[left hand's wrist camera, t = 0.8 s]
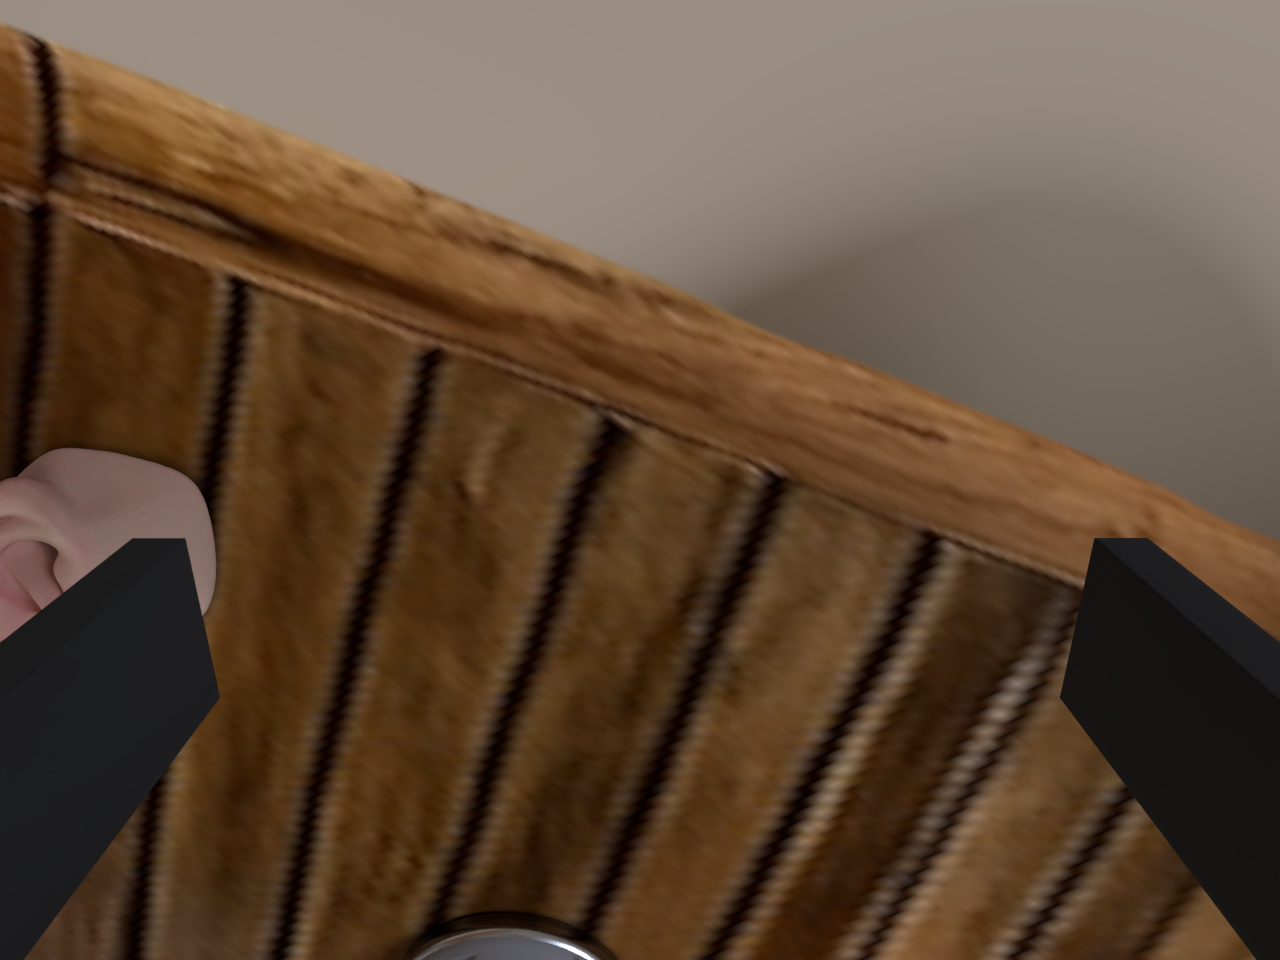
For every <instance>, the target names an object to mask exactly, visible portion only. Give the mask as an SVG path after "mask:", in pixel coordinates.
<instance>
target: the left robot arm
mask: <svg viewBox="0 0 1280 960" xmlns="http://www.w3.org/2000/svg"><path fill="white" fill-rule="evenodd" d="M219 698H220V695H219V691H218V686H217V681H216V677H215V672H214V667H213V663H212V658H211V654H210V649H209V644H208V640H207V635H206V630H205V626H204V621H203V617H202V612H201V607H200V603H199V598H198V594H197V589H196V584H195V580H194V575H193V570H192V566H191V561H190V557H189V552H188V547H187V543H186V538H132V539H131V540H130V541H128V542H127V543H126V544H124V545H123V546H122V547H121V548H119V549H118V550H117V551H116V552H114V553H113V554H112V555H111V556H109V557H108V558H107V559H105V560H104V561H103V562H102V563H100V564H99V565H98V566H97V567H95V568H94V569H93V570H91V571H90V572H89V573H88V574H86V575H85V576H84V577H83V578H81V579H80V580H79V581H78V582H76V583H75V584H74V585H72V586H71V587H70V588H69V589H67V590H66V591H65V592H64V593H62V594H61V595H60V596H59V597H57V598H56V599H55V600H53V601H52V602H51V603H50V604H48V605H47V606H46V607H45V608H43V609H42V610H41V611H40V612H38V613H37V614H36V615H34V616H33V617H32V618H31V619H29V620H28V621H27V622H26V623H24V624H23V625H22V626H21V627H19V628H18V629H17V630H15V631H14V632H13V633H12V634H10V635H9V636H8V637H7V638H5V639H4V640H3V641H1V642H0V960H24V958H25V957H26V956H27V954H28V953H29V952H30V950H31V949H32V948H33V946H34V945H35V944H36V942H37V941H38V940H39V938H40V937H41V936H42V934H43V933H44V932H45V930H46V929H47V928H48V926H49V925H50V924H51V922H52V921H53V920H54V918H55V917H56V916H57V914H58V913H59V912H60V910H61V909H62V908H63V906H64V905H65V904H66V902H67V901H68V900H69V898H70V897H71V896H72V894H73V893H74V892H75V890H76V889H77V888H78V886H79V885H80V884H81V882H82V881H83V880H84V878H85V877H86V876H87V874H88V873H89V872H90V870H91V869H92V868H93V866H94V865H95V864H96V862H97V861H98V860H99V858H100V857H101V856H102V854H103V853H104V852H105V850H106V849H107V848H108V846H109V845H110V844H111V842H112V841H113V840H114V838H115V837H116V836H117V834H118V833H119V832H120V830H121V829H122V828H123V826H124V825H125V824H126V822H127V821H128V820H129V818H130V817H131V816H132V814H133V813H134V812H135V810H136V809H137V808H138V806H139V805H140V804H141V802H142V801H143V800H144V798H145V797H146V796H147V794H148V793H149V792H150V790H151V789H152V788H153V786H154V785H155V784H156V782H157V781H158V780H159V778H160V777H161V776H162V774H163V773H164V772H165V770H166V769H167V768H168V766H169V765H170V764H171V762H172V761H173V760H174V758H175V757H176V756H177V754H178V753H179V752H180V750H181V749H182V748H183V746H184V745H185V744H186V742H187V741H188V740H189V738H190V737H191V736H192V734H193V733H194V732H195V730H196V729H197V728H198V726H199V725H200V724H201V722H202V721H203V720H204V718H205V717H206V716H207V714H208V713H209V712H210V710H211V709H212V708H213V706H214V705H215V704H216V702H217V701H218V700H219ZM1060 698H1061V700H1062V701H1063V702H1064V704H1065V705H1066V706H1067V708H1068V709H1069V710H1070V712H1071V713H1072V714H1073V716H1074V717H1075V718H1076V720H1077V721H1078V722H1079V724H1080V725H1081V726H1082V728H1083V729H1084V730H1085V732H1086V733H1087V734H1088V736H1089V737H1090V738H1091V740H1092V741H1093V742H1094V744H1095V745H1096V746H1097V748H1098V749H1099V750H1100V752H1101V753H1102V754H1103V756H1104V757H1105V758H1106V760H1107V761H1108V762H1109V764H1110V765H1111V766H1112V768H1113V769H1114V770H1115V772H1116V773H1117V774H1118V776H1119V777H1120V778H1121V780H1122V781H1123V782H1124V784H1125V785H1126V786H1127V788H1128V789H1129V790H1130V792H1131V793H1132V794H1133V796H1134V797H1135V798H1136V800H1137V801H1138V802H1139V804H1140V805H1141V806H1142V808H1143V809H1144V810H1145V812H1146V813H1147V814H1148V816H1149V817H1150V818H1151V820H1152V821H1153V822H1154V824H1155V825H1156V826H1157V828H1158V829H1159V830H1160V832H1161V833H1162V834H1163V836H1164V837H1165V838H1166V840H1167V841H1168V842H1169V844H1170V845H1171V846H1172V848H1173V849H1174V850H1175V852H1176V853H1177V854H1178V856H1179V857H1180V858H1181V860H1182V861H1183V862H1184V864H1185V865H1186V866H1187V868H1188V869H1189V870H1190V872H1191V873H1192V874H1193V876H1194V877H1195V878H1196V880H1197V881H1198V882H1199V884H1200V885H1201V886H1202V888H1203V889H1204V890H1205V892H1206V893H1207V894H1208V896H1209V897H1210V898H1211V900H1212V901H1213V902H1214V904H1215V905H1216V906H1217V908H1218V909H1219V910H1220V912H1221V913H1222V914H1223V916H1224V917H1225V918H1226V920H1227V921H1228V922H1229V924H1230V925H1231V926H1232V928H1233V929H1234V930H1235V932H1236V933H1237V934H1238V936H1239V937H1240V938H1241V940H1242V941H1243V942H1244V944H1245V945H1246V946H1247V948H1248V949H1249V950H1250V952H1251V953H1252V954H1253V956H1254V957H1255V958H1256V960H1280V642H1279V641H1277V640H1276V639H1275V638H1273V637H1272V636H1271V635H1270V634H1268V633H1267V632H1266V631H1265V630H1263V629H1262V628H1261V627H1259V626H1258V625H1257V624H1256V623H1254V622H1253V621H1252V620H1251V619H1249V618H1248V617H1247V616H1246V615H1244V614H1243V613H1242V612H1240V611H1239V610H1238V609H1237V608H1235V607H1234V606H1233V605H1232V604H1230V603H1229V602H1228V601H1227V600H1225V599H1224V598H1223V597H1221V596H1220V595H1219V594H1218V593H1216V592H1215V591H1214V590H1213V589H1211V588H1210V587H1209V586H1208V585H1206V584H1205V583H1204V582H1202V581H1201V580H1200V579H1199V578H1197V577H1196V576H1195V575H1194V574H1192V573H1191V572H1190V571H1189V570H1187V569H1186V568H1185V567H1183V566H1182V565H1181V564H1180V563H1178V562H1177V561H1176V560H1175V559H1173V558H1172V557H1171V556H1169V555H1168V554H1167V553H1166V552H1164V551H1163V550H1162V549H1161V548H1159V547H1158V546H1157V545H1156V544H1154V543H1153V542H1152V541H1150V540H1149V539H1148V538H1094V543H1093V547H1092V552H1091V557H1090V561H1089V566H1088V570H1087V575H1086V580H1085V584H1084V589H1083V594H1082V598H1081V603H1080V607H1079V612H1078V617H1077V621H1076V626H1075V630H1074V635H1073V640H1072V644H1071V649H1070V654H1069V658H1068V663H1067V667H1066V672H1065V677H1064V681H1063V686H1062V691H1061V695H1060ZM403 960H618V959H617V958H616V956H615V955H614V954H613V953H612V952H611V951H610V950H609V949H608V948H607V947H606V946H604V945H603V944H602V943H601V942H599V941H598V940H597V939H595V938H594V937H592V936H590V935H589V934H587V933H585V932H583V931H581V930H580V929H578V928H575V927H573V926H571V925H568V924H566V923H563V922H560V921H557V920H554V919H550V918H546V917H542V916H536V915H530V914H521V913H491V914H483V915H477V916H472V917H467V918H464V919H460V920H457V921H454V922H451V923H449V924H446V925H444V926H442V927H440V928H438V929H436V930H434V931H433V932H431V933H429V934H428V935H426V936H425V937H423V938H422V939H421V940H419V941H418V942H417V943H416V944H415V945H414V946H413V947H412V948H411V949H410V950H409V952H408V953H407V954H406V955H405V957H404V958H403Z"/></svg>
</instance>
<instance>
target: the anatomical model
mask: <svg viewBox="0 0 1280 960" xmlns="http://www.w3.org/2000/svg"><path fill="white" fill-rule="evenodd" d="M132 538H186V543H187V547H188V552H189V557H190V561H191V566H192V570H193V575H194V580H195V584H196V589H197V594H198V598H199V603H200V607H201V612H202V616H203V615H204V613H205V612H206V611H207V609H208V607H209V605H210V602H211V600H212V596H213V593H214V587H215V580H216V553H215V543H214V536H213V530H212V524H211V520H210V516H209V512H208V509H207V506H206V503H205V500H204V498H203V496H202V494H201V492H200V490H199V489H198V488H197V486H196V485H195V484H194V483H193V482H192V481H191V480H190V479H189V478H188V477H187V476H185V475H184V474H182V473H180V472H178V471H176V470H174V469H172V468H169V467H166V466H163V465H160V464H157V463H154V462H151V461H147V460H142V459H138V458H134V457H130V456H126V455H122V454H118V453H113V452H108V451H99V450H90V449H80V448H61V449H56V450H52V451H50V452H47V453H45V454H44V455H42V456H40V457H39V458H38V459H36V460H35V461H34V462H32V463H31V464H30V465H29V466H28V467H27V468H26V469H25V470H24V471H22V472H21V473H20V474H19V475H18V476H17V477H13V478H8V479H5V480H3V481H1V482H0V642H1V641H3V640H4V639H5V638H7V637H8V636H9V635H10V634H12V633H13V632H14V631H15V630H17V629H18V628H19V627H21V626H22V625H23V624H24V623H26V622H27V621H28V620H29V619H31V618H32V617H33V616H34V615H36V614H37V613H38V612H40V611H41V610H42V609H43V608H45V607H46V606H47V605H48V604H50V603H51V602H52V601H53V600H55V599H56V598H57V597H59V596H60V595H61V594H62V593H64V592H65V591H66V590H67V589H69V588H70V587H71V586H72V585H74V584H75V583H76V582H78V581H79V580H80V579H81V578H83V577H84V576H85V575H86V574H88V573H89V572H90V571H91V570H93V569H94V568H95V567H97V566H98V565H99V564H100V563H102V562H103V561H104V560H105V559H107V558H108V557H109V556H111V555H112V554H113V553H114V552H116V551H117V550H118V549H119V548H121V547H122V546H123V545H124V544H126V543H127V542H128V541H130V540H131V539H132Z"/></svg>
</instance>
